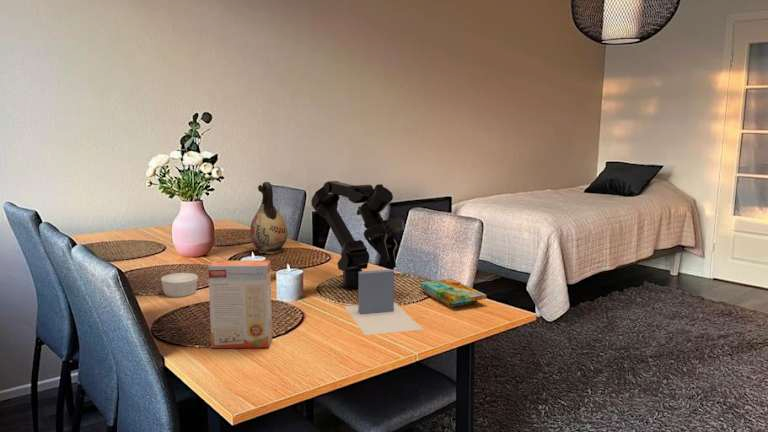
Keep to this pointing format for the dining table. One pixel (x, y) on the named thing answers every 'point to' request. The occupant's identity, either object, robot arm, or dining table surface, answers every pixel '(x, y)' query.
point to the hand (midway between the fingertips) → (391, 264)
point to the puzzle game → (451, 292)
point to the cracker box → (240, 304)
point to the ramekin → (179, 284)
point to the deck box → (376, 291)
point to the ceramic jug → (268, 224)
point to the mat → (383, 321)
